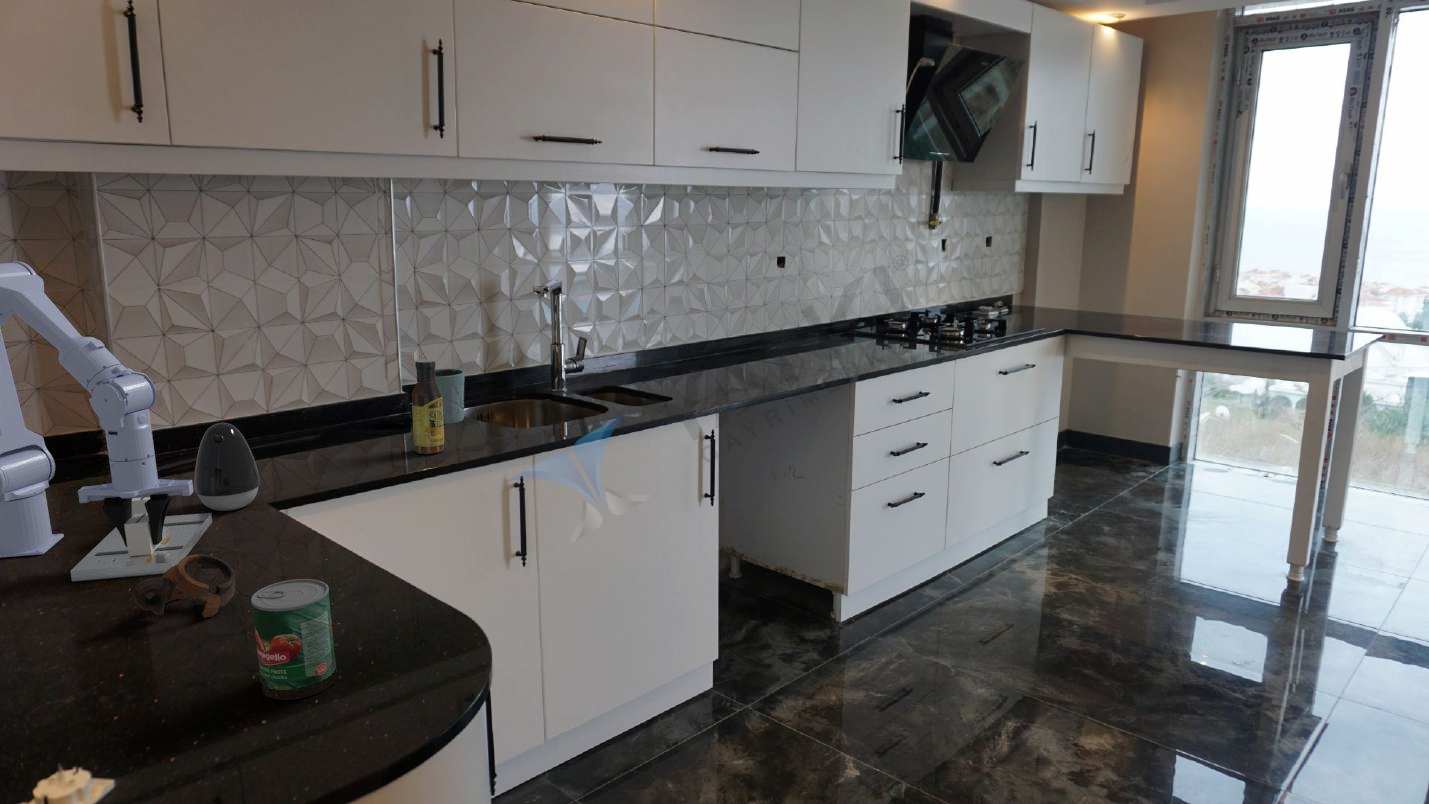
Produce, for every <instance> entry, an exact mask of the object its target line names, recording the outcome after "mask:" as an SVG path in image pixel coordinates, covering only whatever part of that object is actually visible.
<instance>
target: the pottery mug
mask: <svg viewBox="0 0 1429 804" xmlns="http://www.w3.org/2000/svg"><path fill="white" fill-rule="evenodd" d="M193 564H199V565H200V566H201V567H200V568H201V569H205V570H206V569H209V570H210V569H213V570H217V569H218V570H219V571H220V572H221V573H222V574H223V577H224V579H225V580H227V581H225V582H224V583H220V584H217V585H216V586H215V592H209V589H210V588H209V587H210V586H209V584H206V583H204V582H200V581H197V580H196V579H195V578H193V577H191V576H190V575H189V574H188V573H187V572H186V570H187V569H188V568H189V567H192V565H193ZM236 578H237V573H236V571H235V569H234V567H233V566H232V565H231V564H230V563H229V562H227V561H226V560H224V559H223V558H220V557H218V556H215V555H210V554H205V553H202V554H201V553H199V554H190V555H189V554H188V555H187V556H186V557H185V558H183V559H181V560H180V561H179V563H178V564H176V565H174V566H172V567H171V568H169V569H168V570H167V571H166V572H165V573H163V574H162V576H161V577H157V578H155V577H150V578H147V579H144V580H142V581H141V582H139V583H138V584H137V585H136V586H135V587H134V589H133V591H132V593H131V596H132V600H133V602H134V603H135V604H136V606H138V607H139V608H140V609H142V610H144V611H150V612H152V614H153V615H155V616H157V617H161V616H163V615H164V614H165V605H166V602H168V601H172V600H173V601H175V600H184V599H185V598H186V595H187V596H191V597H193V598H195V599H198V600H200V601H204V608H203V610H202V612H201V616H202V617H203V618H207V617H210V616H211V615H214V614H217V613H219V609H220V608H224V607H225V606H226V605H227V604H228V603H229V602H231V600H232V598H233V597H234V595H235V593H236V589H235V588H236V583H235V582H236ZM151 593H154V594H153V595H152V597H151V598H148V597H147V595H148V594H151Z"/></svg>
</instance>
